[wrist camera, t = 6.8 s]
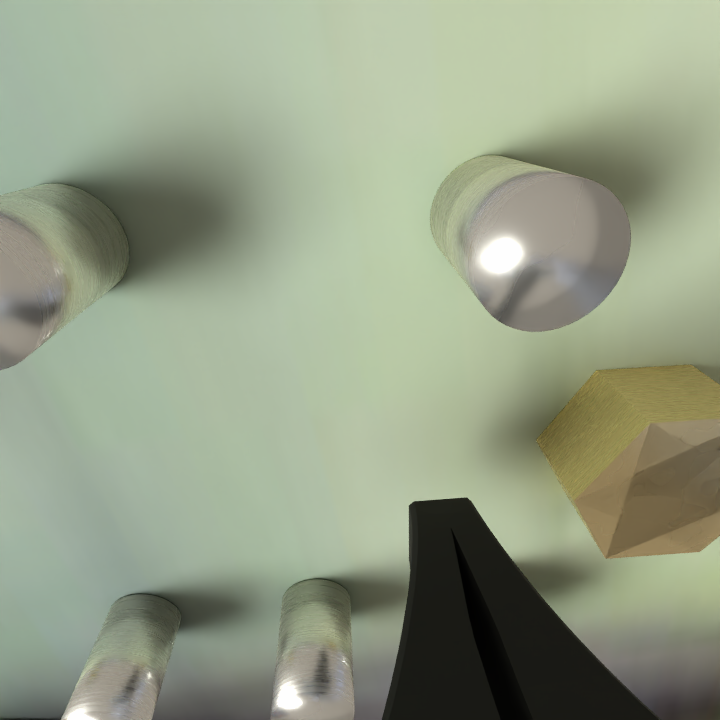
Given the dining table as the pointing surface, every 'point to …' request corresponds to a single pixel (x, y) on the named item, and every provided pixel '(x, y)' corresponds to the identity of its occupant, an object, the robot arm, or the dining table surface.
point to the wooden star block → (641, 459)
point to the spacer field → (464, 252)
